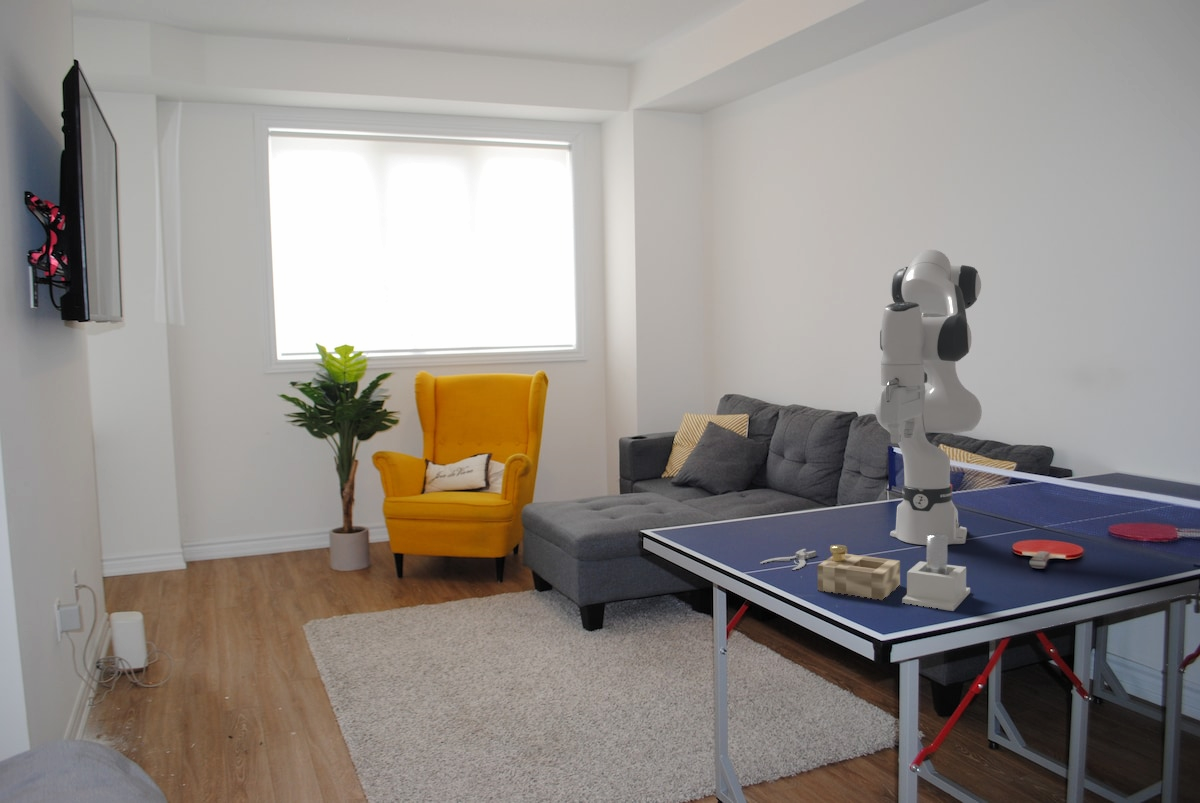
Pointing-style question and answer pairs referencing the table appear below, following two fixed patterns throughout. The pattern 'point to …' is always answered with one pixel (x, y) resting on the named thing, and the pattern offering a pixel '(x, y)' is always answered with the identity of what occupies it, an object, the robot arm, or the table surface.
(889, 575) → the socket block
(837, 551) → the key
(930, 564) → the grey rounded cylinder
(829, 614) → the table surface
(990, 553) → the table surface
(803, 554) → the pliers
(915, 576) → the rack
